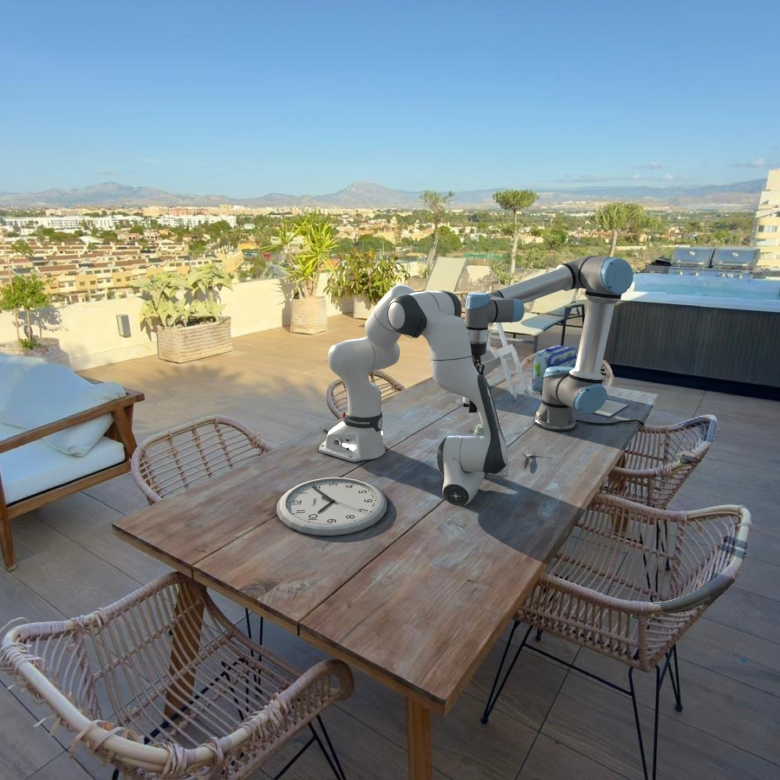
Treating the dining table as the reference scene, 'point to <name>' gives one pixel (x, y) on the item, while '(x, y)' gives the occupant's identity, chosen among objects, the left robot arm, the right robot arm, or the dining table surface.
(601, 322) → the right robot arm
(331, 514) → the wall clock
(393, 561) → the dining table surface
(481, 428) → the light green cylinder
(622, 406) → the invitation card
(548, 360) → the lunch box
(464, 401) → the lid
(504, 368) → the white plastic object
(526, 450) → the fork
